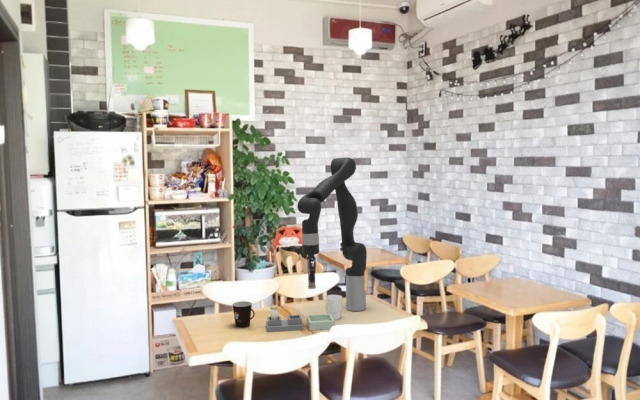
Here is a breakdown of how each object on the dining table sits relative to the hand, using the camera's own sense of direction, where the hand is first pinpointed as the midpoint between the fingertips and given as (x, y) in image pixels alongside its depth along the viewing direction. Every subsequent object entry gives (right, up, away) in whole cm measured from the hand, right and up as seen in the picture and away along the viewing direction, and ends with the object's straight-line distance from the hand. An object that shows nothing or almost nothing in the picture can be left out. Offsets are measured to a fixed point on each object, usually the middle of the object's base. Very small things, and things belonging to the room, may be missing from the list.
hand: (311, 281), depth 232 cm
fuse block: (-12, -21, 0) cm, 24 cm away
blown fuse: (0, -3, 0) cm, 3 cm away
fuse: (-16, -19, -1) cm, 25 cm away
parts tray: (+4, -20, +2) cm, 21 cm away
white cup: (+10, -19, +13) cm, 26 cm away
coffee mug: (-31, -21, +2) cm, 37 cm away
